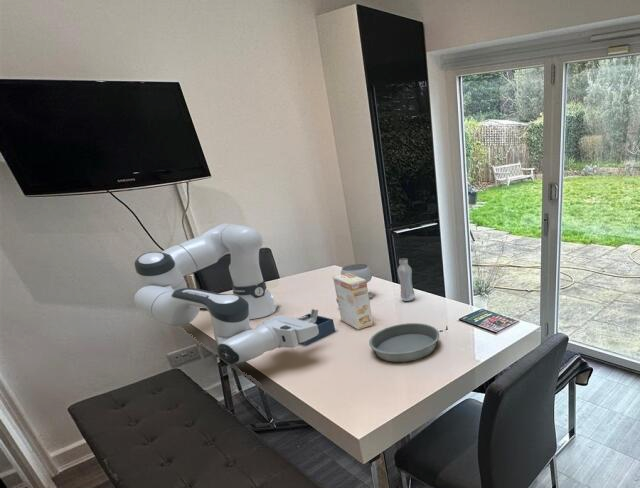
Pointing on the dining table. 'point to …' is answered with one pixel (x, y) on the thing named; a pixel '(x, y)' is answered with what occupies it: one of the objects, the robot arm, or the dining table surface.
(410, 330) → the cake pan
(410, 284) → the plastic bottle
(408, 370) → the dining table surface
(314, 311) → the lighter
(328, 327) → the basket
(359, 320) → the coffeecake box
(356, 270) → the chalice
